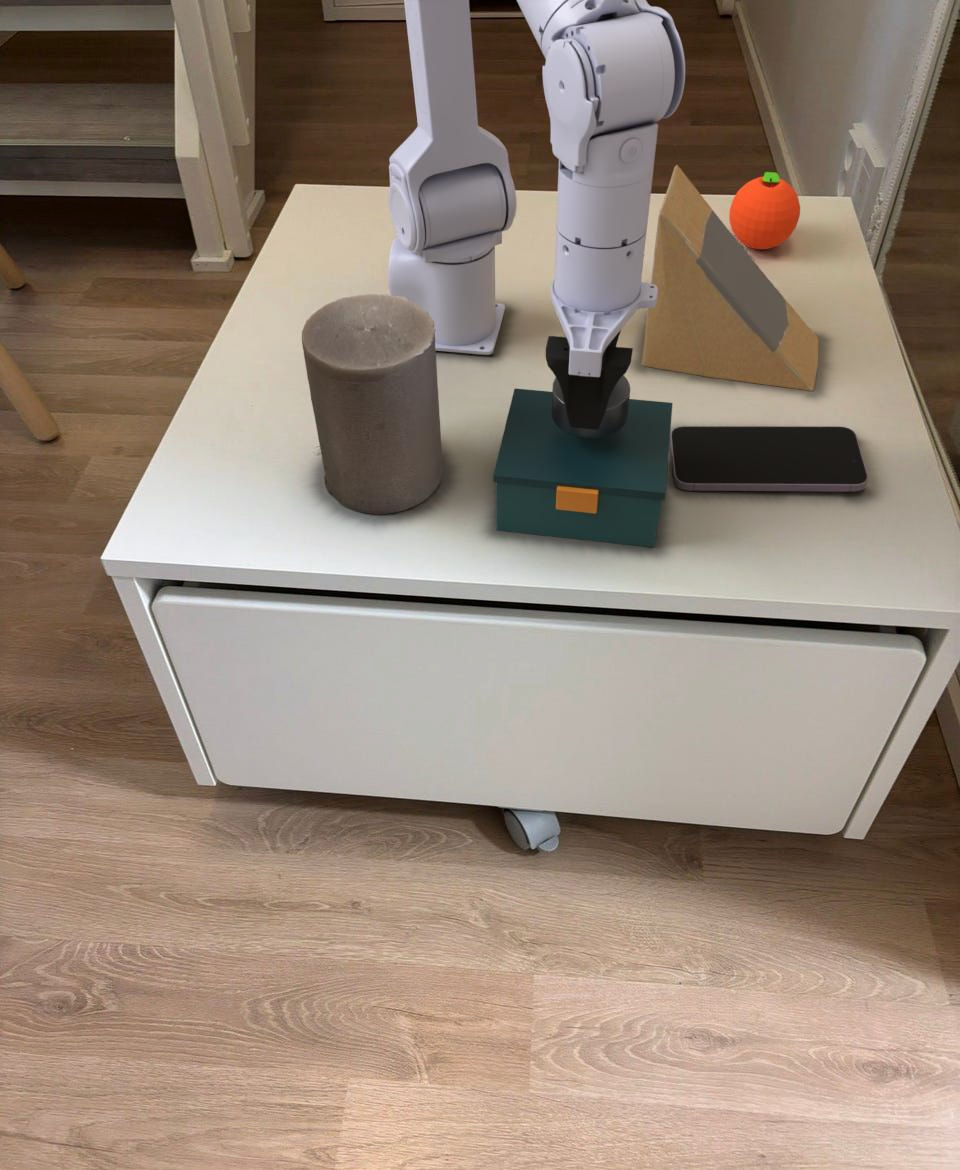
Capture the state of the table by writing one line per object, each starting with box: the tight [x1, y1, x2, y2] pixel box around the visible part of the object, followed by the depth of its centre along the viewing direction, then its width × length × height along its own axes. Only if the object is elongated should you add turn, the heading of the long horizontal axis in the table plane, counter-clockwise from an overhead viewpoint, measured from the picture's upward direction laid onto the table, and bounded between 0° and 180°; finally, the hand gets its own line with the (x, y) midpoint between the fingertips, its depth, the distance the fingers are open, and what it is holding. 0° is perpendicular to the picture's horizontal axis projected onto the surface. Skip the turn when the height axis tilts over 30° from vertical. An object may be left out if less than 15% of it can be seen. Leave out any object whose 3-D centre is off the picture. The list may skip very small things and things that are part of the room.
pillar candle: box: [301, 293, 443, 515], centre depth 78 cm, size 10×10×15 cm
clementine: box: [728, 171, 801, 250], centre depth 104 cm, size 8×7×7 cm
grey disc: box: [551, 374, 631, 438], centre depth 75 cm, size 6×6×2 cm
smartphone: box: [669, 425, 869, 493], centre depth 83 cm, size 7×1×15 cm
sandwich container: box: [641, 164, 820, 392], centre depth 88 cm, size 9×15×15 cm, turn 74°
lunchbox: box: [492, 388, 673, 548], centre depth 79 cm, size 12×11×6 cm
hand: (588, 399), depth 75 cm, fingers closed on grey disc, 5 cm apart
